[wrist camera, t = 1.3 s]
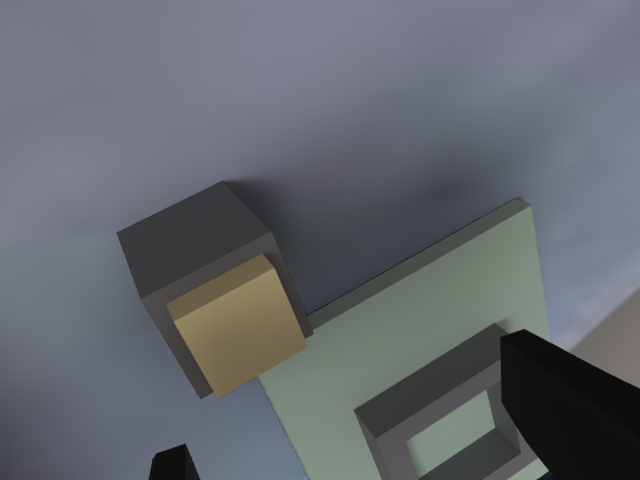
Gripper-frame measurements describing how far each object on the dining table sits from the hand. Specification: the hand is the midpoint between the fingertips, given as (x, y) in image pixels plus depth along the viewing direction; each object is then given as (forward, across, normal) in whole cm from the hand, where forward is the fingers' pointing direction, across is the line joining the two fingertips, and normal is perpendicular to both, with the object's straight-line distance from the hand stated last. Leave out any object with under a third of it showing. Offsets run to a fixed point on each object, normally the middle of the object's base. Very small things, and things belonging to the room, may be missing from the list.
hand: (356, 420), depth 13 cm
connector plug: (+10, +3, 0) cm, 11 cm away
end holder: (+11, -6, +13) cm, 19 cm away
